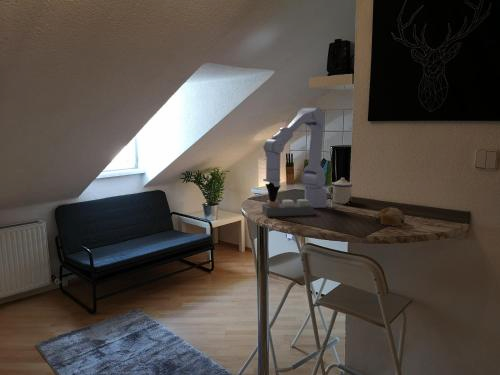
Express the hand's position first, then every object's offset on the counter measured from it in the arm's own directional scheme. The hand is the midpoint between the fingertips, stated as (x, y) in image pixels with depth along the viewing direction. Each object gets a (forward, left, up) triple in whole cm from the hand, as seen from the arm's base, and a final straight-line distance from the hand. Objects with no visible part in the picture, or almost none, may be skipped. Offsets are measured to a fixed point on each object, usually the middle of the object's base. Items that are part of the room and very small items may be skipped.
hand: (272, 201), depth 171 cm
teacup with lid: (-38, -20, -6) cm, 43 cm away
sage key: (-13, 0, -3) cm, 13 cm away
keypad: (-7, 0, -5) cm, 8 cm away
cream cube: (-6, 0, -3) cm, 7 cm away
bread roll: (-41, +21, -6) cm, 47 cm away
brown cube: (0, 0, -3) cm, 3 cm away
